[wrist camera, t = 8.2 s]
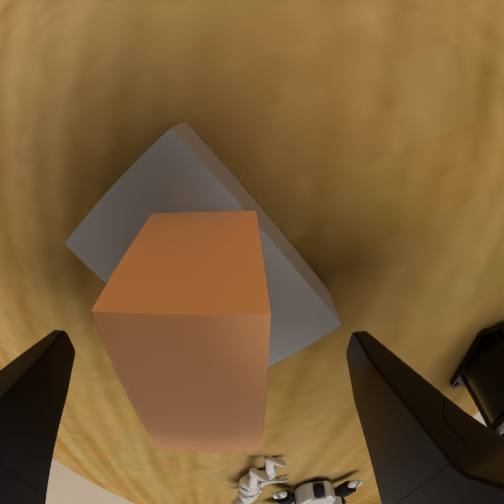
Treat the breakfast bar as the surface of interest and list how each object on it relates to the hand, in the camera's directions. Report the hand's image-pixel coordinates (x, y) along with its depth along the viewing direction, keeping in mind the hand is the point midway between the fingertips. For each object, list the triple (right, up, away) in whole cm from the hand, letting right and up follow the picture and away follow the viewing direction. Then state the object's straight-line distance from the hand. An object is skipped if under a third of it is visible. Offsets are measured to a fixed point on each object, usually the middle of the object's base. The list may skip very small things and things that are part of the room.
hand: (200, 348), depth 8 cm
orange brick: (0, +1, +3) cm, 3 cm away
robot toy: (+9, -30, +24) cm, 40 cm away
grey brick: (0, +3, +5) cm, 6 cm away
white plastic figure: (+2, -21, +18) cm, 28 cm away
